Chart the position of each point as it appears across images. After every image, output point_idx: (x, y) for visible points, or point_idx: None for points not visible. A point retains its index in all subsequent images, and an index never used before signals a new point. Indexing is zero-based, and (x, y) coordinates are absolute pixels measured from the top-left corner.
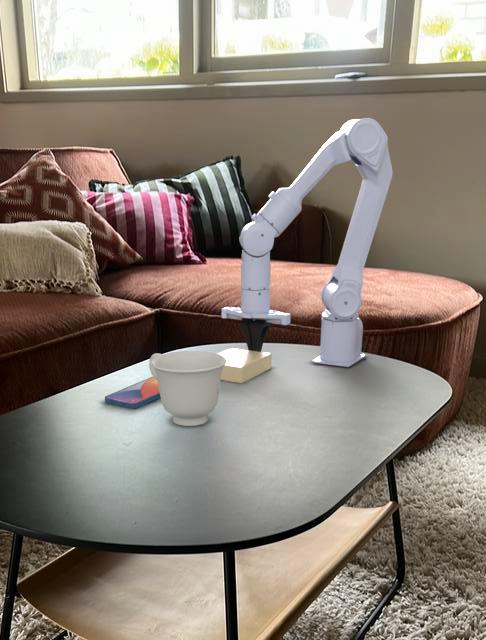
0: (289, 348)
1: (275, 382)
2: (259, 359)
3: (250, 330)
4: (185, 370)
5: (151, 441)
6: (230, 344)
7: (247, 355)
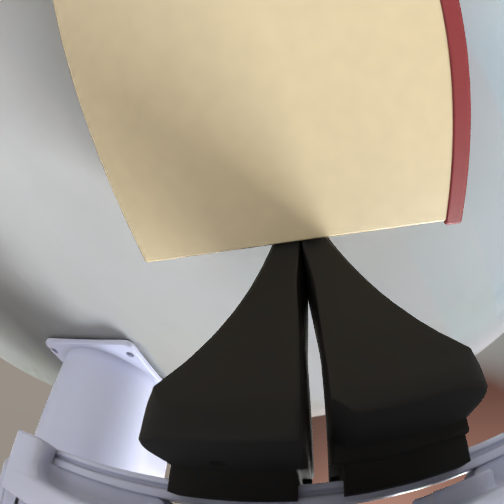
0: (310, 400)
1: (8, 69)
2: (80, 101)
3: (300, 364)
4: None
5: None
6: (484, 345)
7: (222, 109)
